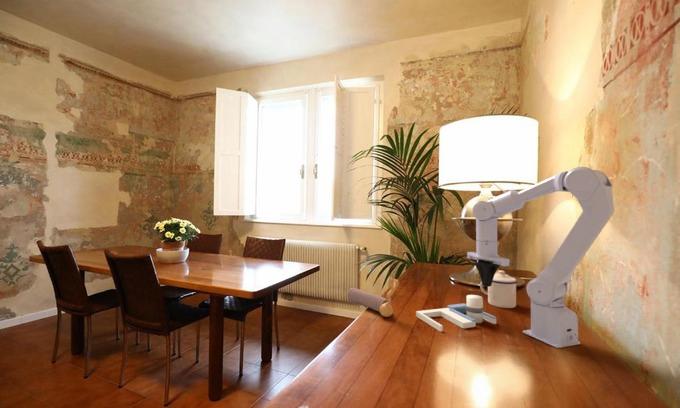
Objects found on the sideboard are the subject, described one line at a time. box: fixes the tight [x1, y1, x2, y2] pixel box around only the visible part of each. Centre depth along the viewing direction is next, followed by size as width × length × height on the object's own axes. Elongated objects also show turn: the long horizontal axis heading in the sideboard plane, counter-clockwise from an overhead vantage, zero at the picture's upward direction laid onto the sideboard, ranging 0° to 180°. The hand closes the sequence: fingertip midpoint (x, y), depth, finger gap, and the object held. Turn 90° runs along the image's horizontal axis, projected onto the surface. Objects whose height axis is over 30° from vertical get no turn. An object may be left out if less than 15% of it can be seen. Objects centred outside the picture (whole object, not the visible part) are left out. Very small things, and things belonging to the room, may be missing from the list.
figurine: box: [379, 277, 400, 318], centre depth 90 cm, size 8×6×12 cm
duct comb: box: [415, 302, 497, 332], centre depth 88 cm, size 12×19×2 cm, turn 107°
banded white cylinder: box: [465, 294, 484, 324], centre depth 88 cm, size 5×5×7 cm
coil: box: [346, 287, 392, 313], centre depth 100 cm, size 5×5×18 cm
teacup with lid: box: [479, 270, 517, 309], centre depth 104 cm, size 12×9×12 cm
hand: (486, 285), depth 89 cm, fingers closed
